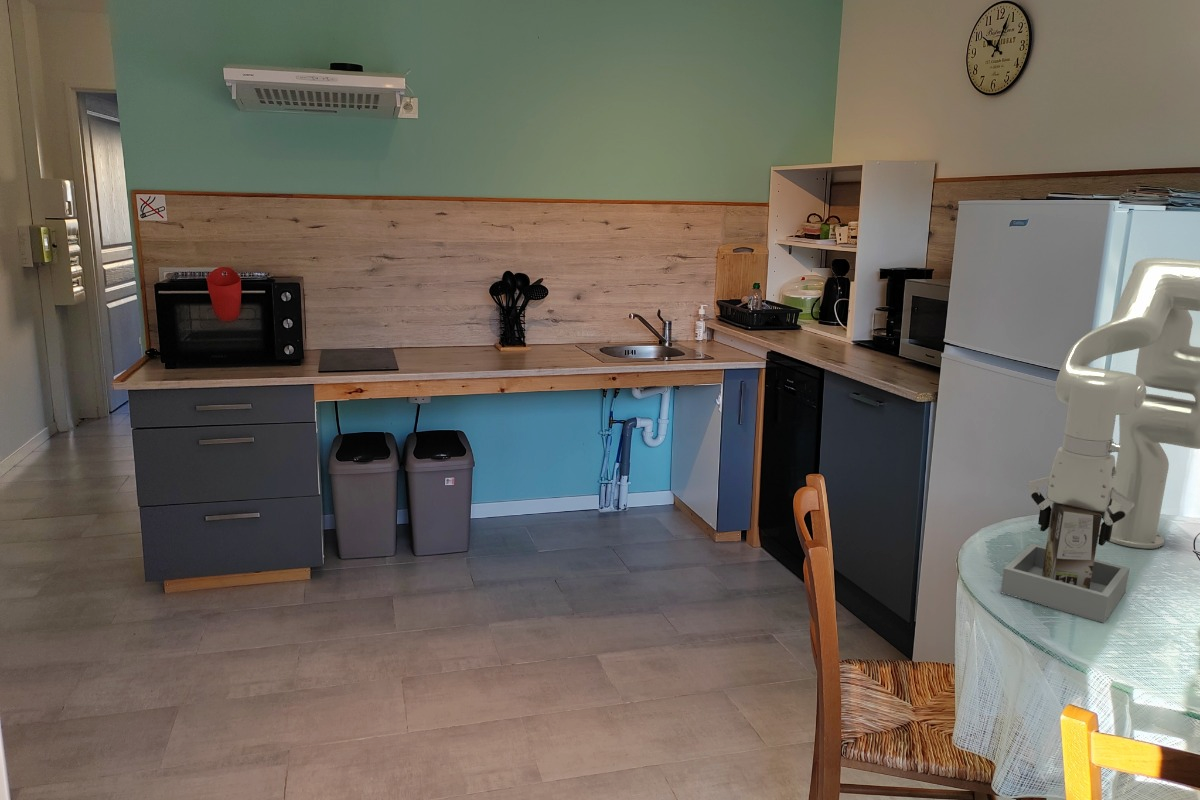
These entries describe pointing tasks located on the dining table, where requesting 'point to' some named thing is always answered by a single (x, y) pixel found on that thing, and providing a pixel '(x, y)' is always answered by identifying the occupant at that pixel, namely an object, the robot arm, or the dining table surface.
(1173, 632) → the dining table surface
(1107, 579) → the grey bin
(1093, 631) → the dining table surface
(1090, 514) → the coffee box
